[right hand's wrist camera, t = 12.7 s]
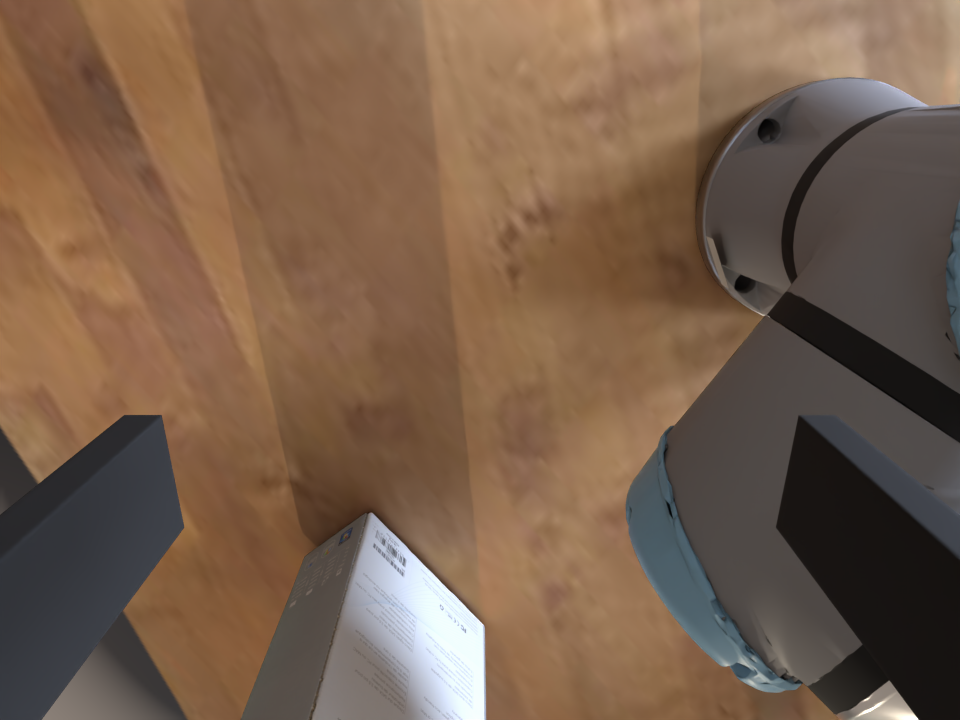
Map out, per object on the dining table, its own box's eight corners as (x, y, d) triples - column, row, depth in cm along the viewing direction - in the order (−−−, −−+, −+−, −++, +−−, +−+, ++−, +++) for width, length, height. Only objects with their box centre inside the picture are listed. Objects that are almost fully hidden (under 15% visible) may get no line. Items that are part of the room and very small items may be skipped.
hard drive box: (301, 555, 51) (197, 803, 32) (370, 506, 49) (302, 738, 30) (422, 667, 55) (392, 943, 36) (489, 626, 53) (494, 893, 35)
